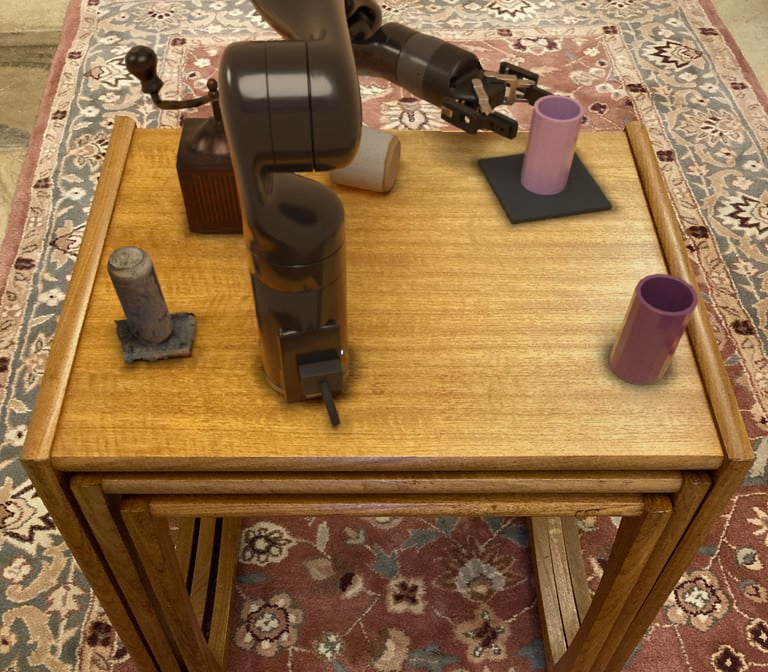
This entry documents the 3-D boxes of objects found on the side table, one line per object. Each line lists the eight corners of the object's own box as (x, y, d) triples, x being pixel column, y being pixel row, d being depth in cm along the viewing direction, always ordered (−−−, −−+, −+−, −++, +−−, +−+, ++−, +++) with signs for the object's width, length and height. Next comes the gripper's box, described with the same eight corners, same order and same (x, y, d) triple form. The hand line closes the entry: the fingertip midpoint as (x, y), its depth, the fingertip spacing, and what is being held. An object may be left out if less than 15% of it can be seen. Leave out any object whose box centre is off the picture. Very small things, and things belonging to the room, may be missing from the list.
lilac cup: (574, 179, 103) (593, 106, 95) (551, 201, 101) (569, 127, 92) (534, 162, 105) (549, 89, 97) (511, 183, 102) (525, 110, 94)
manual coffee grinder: (275, 182, 102) (260, 39, 87) (271, 234, 96) (255, 89, 81) (158, 182, 102) (123, 38, 87) (147, 234, 96) (107, 89, 81)
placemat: (611, 209, 101) (612, 205, 100) (512, 224, 99) (512, 220, 98) (570, 150, 108) (571, 146, 108) (477, 163, 106) (478, 159, 105)
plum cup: (674, 379, 84) (709, 309, 76) (623, 389, 83) (652, 319, 75) (650, 341, 87) (680, 269, 79) (600, 350, 86) (625, 278, 78)
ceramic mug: (387, 205, 100) (389, 149, 94) (328, 194, 101) (326, 137, 95) (407, 162, 106) (410, 106, 100) (351, 152, 107) (350, 96, 101)
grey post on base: (125, 373, 82) (93, 284, 72) (114, 326, 86) (82, 236, 76) (208, 355, 84) (187, 265, 74) (194, 309, 88) (172, 219, 78)
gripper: (405, 63, 97) (507, 110, 92) (473, 24, 103) (573, 67, 98) (402, 120, 103) (498, 168, 98) (466, 81, 110) (560, 124, 104)
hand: (535, 118), depth 98 cm, fingers open, 8 cm apart
